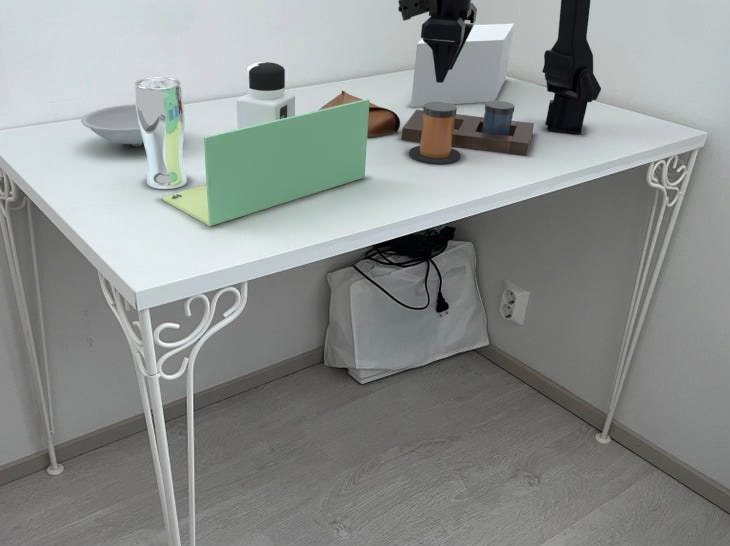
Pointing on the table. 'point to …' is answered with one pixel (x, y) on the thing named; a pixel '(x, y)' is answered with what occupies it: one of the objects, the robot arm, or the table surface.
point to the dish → (115, 124)
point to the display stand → (278, 163)
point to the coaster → (417, 156)
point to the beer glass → (162, 130)
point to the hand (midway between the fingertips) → (444, 75)
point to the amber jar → (437, 129)
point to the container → (264, 96)
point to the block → (465, 69)
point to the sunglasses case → (371, 116)
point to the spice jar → (498, 117)
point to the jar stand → (476, 134)
